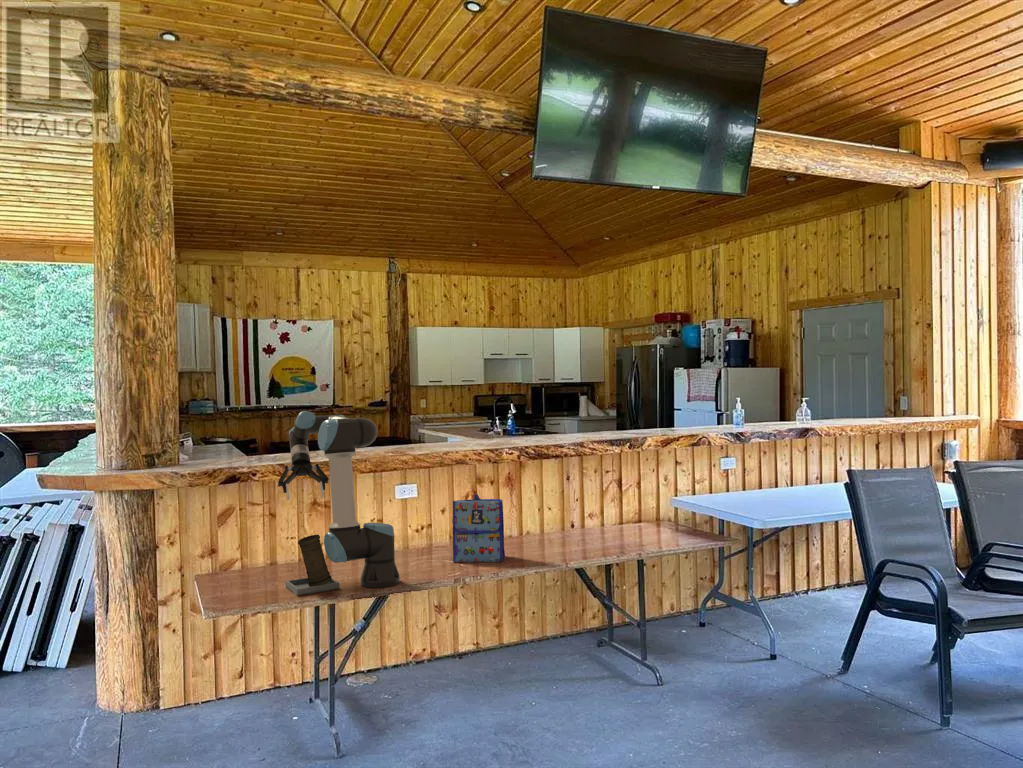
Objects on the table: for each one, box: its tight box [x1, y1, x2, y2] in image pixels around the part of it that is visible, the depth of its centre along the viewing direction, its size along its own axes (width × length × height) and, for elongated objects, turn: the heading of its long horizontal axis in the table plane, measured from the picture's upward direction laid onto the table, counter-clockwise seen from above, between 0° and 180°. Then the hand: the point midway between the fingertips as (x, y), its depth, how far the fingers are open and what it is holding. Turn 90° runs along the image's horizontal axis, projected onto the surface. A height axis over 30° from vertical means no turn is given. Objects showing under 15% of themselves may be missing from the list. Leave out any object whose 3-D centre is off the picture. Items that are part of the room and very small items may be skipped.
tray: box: [285, 576, 341, 597], centre depth 287 cm, size 16×16×2 cm
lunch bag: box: [451, 493, 506, 563], centre depth 329 cm, size 22×14×29 cm, turn 86°
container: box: [297, 534, 332, 587], centre depth 288 cm, size 9×9×18 cm
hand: (305, 497), depth 305 cm, fingers open, 13 cm apart
